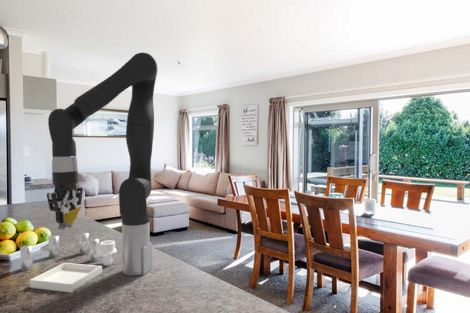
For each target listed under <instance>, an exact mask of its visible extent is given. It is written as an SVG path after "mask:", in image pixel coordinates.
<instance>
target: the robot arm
mask: <svg viewBox="0 0 470 313" xmlns="http://www.w3.org/2000/svg"><path fill="white" fill-rule="evenodd" d="M157 75H158V64H157V61H156V59H155V57H154V56H153V55H152V54H150V53H147V52H138V53H136V54H134V55H133V56H132V57H131V58H129V60H128V61H126V62H125V64H123V65H122V66H121V67H120V68H118V70H116V71H115V72H114V73H112V74H111V75H109V77H107V78H105V79H104V80H103V81H101V82H100V83H98V84H96V85H95V86H93V87H91V88H90V89H89V90H87V91H85V92H84V93H82V94H80V95H79V96H77V97H76V98H75V99H74V100H73V103H72V104H70V105H69V106H68V107H66V108H56V109H53V110H52V111H51V112H50V114H48V115H49V116H48V120H47V122H48V124H47V125H48V130H49V135H50V140H51V143H52V144H51V145H52V146H51V150H52V152H51V154H52V160H51V175H52V177H51V178H52V185H53V186H54V190H53V191H52V192H47V193H46V198H47V202H48V208H49V211H50V212H51V211H52V212H54V213H55V222H56V223H57V224H59V223H63V222H64V214H65V213H64V208H65V206H66V205H67V204H68V212H70V211H72V210H74V209H76V208H78V207H79V206H81V205H82V200H83V190H84V188H83V187H77V184H78V183H79V173H78V168H79V167H78V158H77V145H76V144H77V143H76V141H75V139H74V137H73V135H74V134H73V130H74V129H76V128H77V127H78V126H80V125H81V124H82V123H83V122H84V121H86V120H87V119H88V118H89V117H90V116H93V115H94V114H95V113H97V112H99V111H100V110H102V109H103V108H104V107H106V106H107V105H109V104H110V103H111V102H112V101H113V100H114V99H115V98H117V97H118V96H119V95H120V94H122V93H123V92H124V91H126V90H127V89H129V88H130V87H131V98H130V104H129V108H128V112H127V116H126V118H127V119H126V128H125V140H126V146H127V147H126V148H127V151H128V154H129V163H130V164H129V174H128V178H127V179H124V180H123V181H122V183H121V184H120V185H119V189H118V203H119V205H118V206H119V215H120V217H121V244H122V245H121V246H122V247H121V248H122V249H121V250H122V252H121V254H122V274H123V275H125V276H130V277H133V276H145V275H146V274H147V273H149V272H150V271H151V270H152V269H153V242H151V241H150V240H151V239H150V238H151V237H150V233H151V232H150V231H151V230H150V226H151V225H150V221H151V220H150V213H148V209H147V208H148V207H147V199H148V197H150V194H151V192H152V172H151V170H152V168H151V167H152V155H153V154H152V152H153V146H154V145H153V142H154V141H153V140H154V132H155V131H154V130H155V110H154V107H155V106H154V93H155V92H154V91H155V84H156V81H157ZM75 220H77V217H76V218H75Z"/></svg>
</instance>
